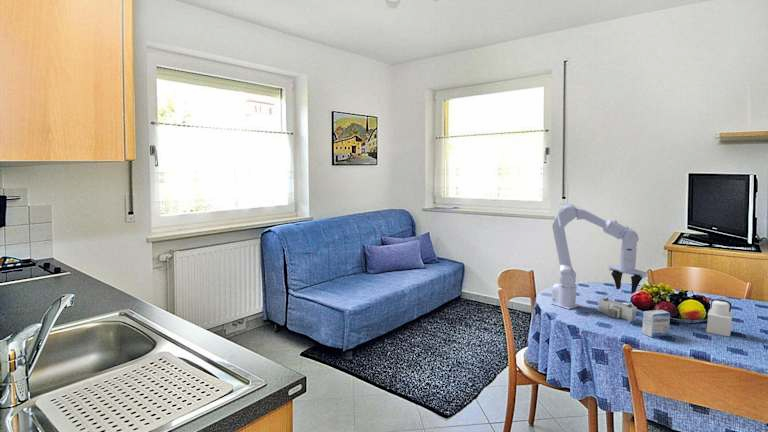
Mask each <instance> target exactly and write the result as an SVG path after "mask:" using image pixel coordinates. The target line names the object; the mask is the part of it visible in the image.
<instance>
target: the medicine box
mask: <svg viewBox="0 0 768 432" xmlns="http://www.w3.org/2000/svg"><path fill="white" fill-rule="evenodd" d="M670 319H671V313H670V312H669V311H666V310H664V309H655V310H644V311H643V315H642V327H641V333H642V335H645V336H647V337H649V338H652V339H653V338H658V337H665V336H669V332H670V322H671V321H670Z"/></svg>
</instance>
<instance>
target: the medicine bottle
mask: <svg viewBox="0 0 768 432" xmlns="http://www.w3.org/2000/svg"><path fill="white" fill-rule="evenodd" d="M733 314H734V313H733V312H732V303H731V302H730V301H729V300H725V299H721V298H719V299H718V298H715V299H712V300H711V301H710V308H709V309H708V312H707V318H706V327H705V332H706V333H708V334H713V335H718V336H723V337H730V336H731V333H732V324H733Z"/></svg>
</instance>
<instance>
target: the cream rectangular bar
mask: <svg viewBox="0 0 768 432" xmlns="http://www.w3.org/2000/svg"><path fill="white" fill-rule="evenodd" d="M622 303H623V304H627V305H629V304H630V303H627V302H622ZM632 306H634V305H633V304H632ZM621 313H622V307H618V306H615V305H612V307H610V310H609V312H608V314H607V316H608V317H610V318H613V319H615V318H616V319H618V318H621Z"/></svg>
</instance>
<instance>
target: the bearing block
mask: <svg viewBox="0 0 768 432" xmlns="http://www.w3.org/2000/svg"><path fill="white" fill-rule="evenodd" d="M623 303H624V302H619V301H615V300H612V299H609V298H608V297H605V298H604V297H602V298H599V299H598V306H597V308H598V309H597V311H598V312H600V313H603V314H606V315H608V312H609V310H610V307H613V306H618V307H622V313H621V317H620V318H621V319H624V320H626V321H630V322H632V321H636V318H637V306H634V305H633V304H632V303H628V304H629V305H627V304H623ZM632 305H633V306H632Z"/></svg>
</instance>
